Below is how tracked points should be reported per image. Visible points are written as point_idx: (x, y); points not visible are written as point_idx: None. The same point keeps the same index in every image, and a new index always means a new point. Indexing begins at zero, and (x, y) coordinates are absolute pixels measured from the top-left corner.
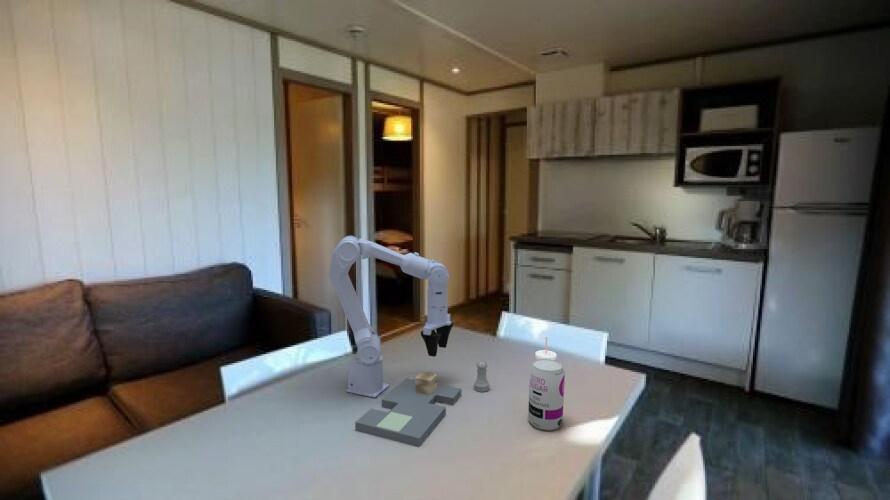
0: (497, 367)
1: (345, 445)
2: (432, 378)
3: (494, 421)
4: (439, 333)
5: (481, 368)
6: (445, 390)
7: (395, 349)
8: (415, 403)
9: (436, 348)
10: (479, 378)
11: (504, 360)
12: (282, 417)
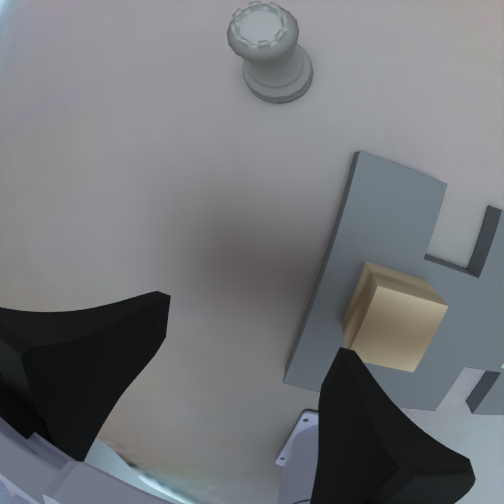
0: (91, 62)
1: None
2: (424, 301)
3: (492, 52)
4: (400, 491)
5: (296, 32)
6: (386, 222)
7: None
8: (476, 318)
9: (374, 384)
10: (294, 63)
11: (49, 61)
12: None
